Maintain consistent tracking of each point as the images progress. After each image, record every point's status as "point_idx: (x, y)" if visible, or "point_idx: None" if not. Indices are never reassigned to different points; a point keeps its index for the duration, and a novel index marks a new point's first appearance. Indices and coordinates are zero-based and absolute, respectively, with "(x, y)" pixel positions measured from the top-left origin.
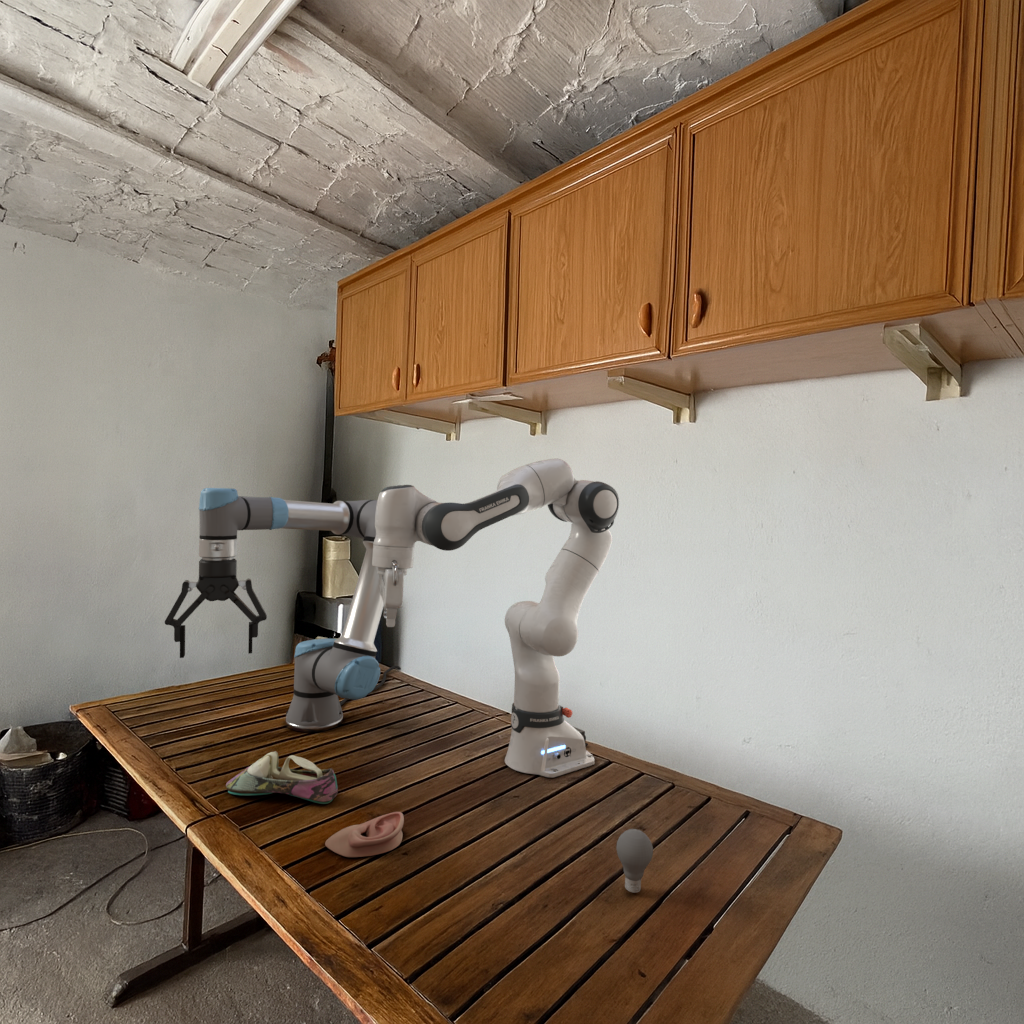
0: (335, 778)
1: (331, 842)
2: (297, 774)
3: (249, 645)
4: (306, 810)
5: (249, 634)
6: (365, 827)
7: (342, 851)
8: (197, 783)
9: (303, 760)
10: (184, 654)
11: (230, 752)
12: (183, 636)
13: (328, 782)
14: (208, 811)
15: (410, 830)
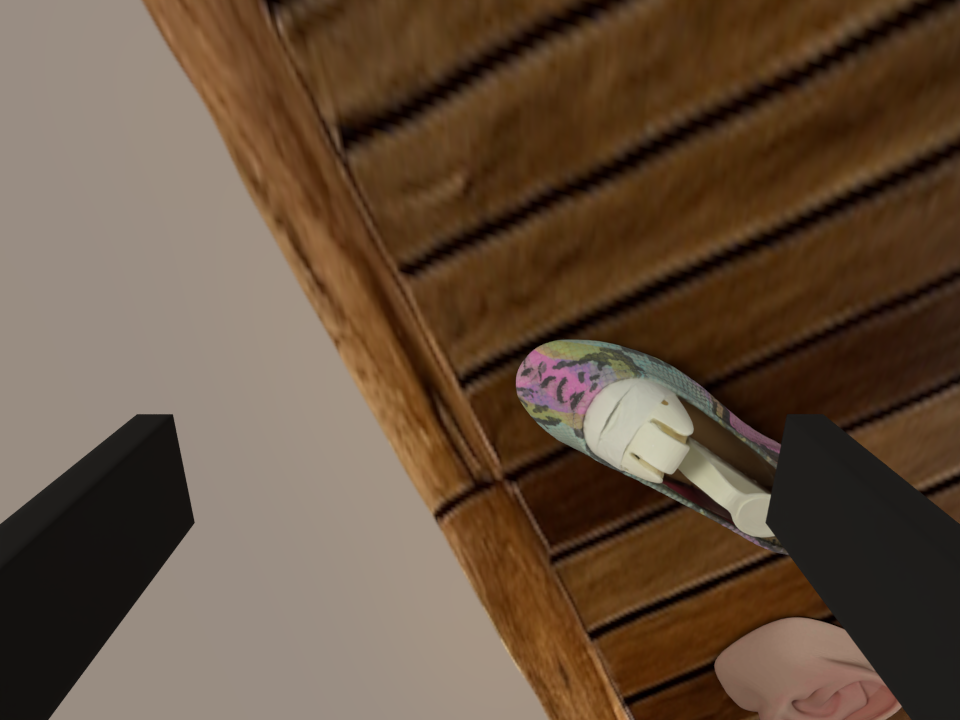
0: None
1: (728, 679)
2: (726, 475)
3: (816, 580)
4: None
5: (898, 689)
6: (809, 695)
7: (739, 703)
8: (428, 280)
9: (762, 511)
10: (175, 464)
11: (522, 10)
12: (52, 705)
13: None
14: (475, 462)
15: None
